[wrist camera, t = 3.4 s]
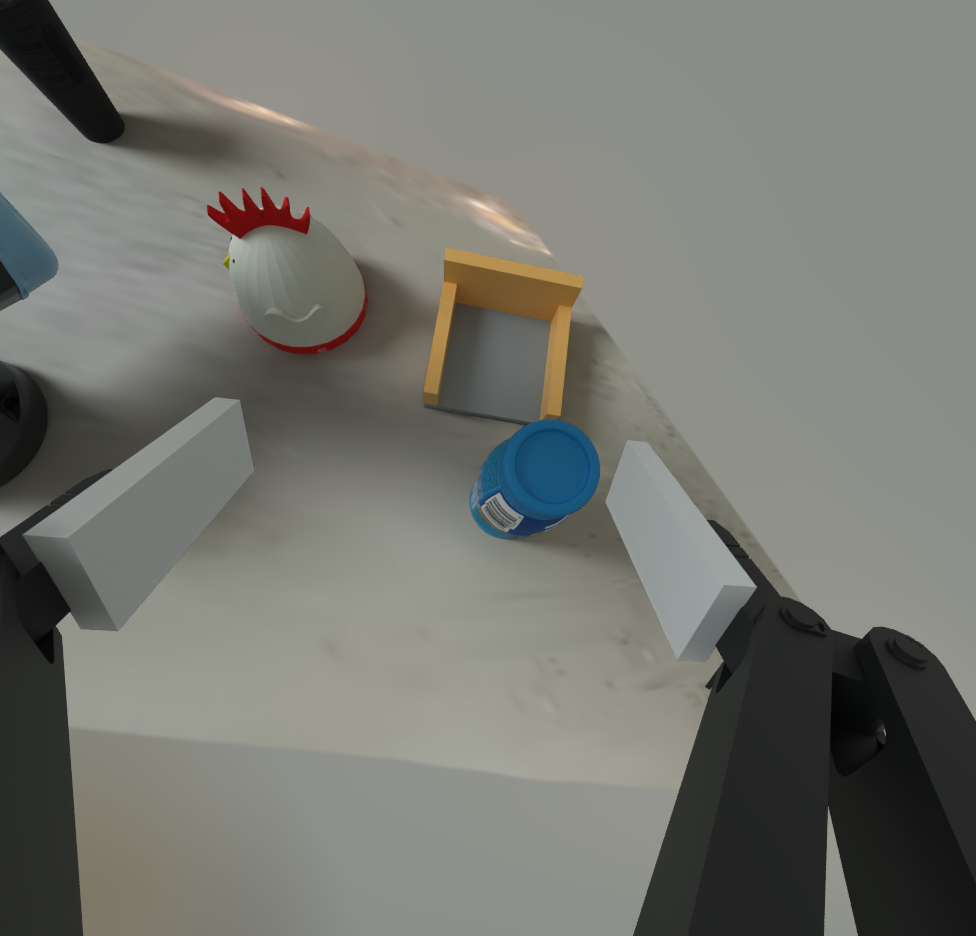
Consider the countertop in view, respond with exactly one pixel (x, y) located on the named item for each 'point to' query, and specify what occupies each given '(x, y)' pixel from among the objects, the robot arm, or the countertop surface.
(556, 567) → the countertop surface
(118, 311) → the countertop surface
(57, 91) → the drinking cup
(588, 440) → the beverage bottle
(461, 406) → the chute bracket
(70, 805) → the robot arm
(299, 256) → the kitchen timer
